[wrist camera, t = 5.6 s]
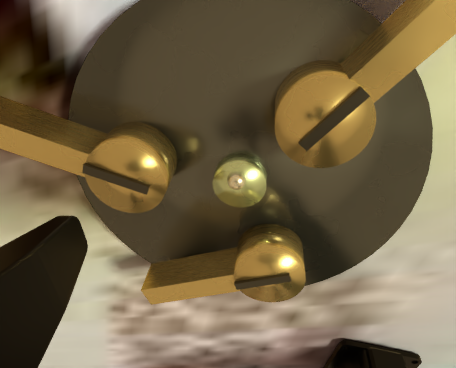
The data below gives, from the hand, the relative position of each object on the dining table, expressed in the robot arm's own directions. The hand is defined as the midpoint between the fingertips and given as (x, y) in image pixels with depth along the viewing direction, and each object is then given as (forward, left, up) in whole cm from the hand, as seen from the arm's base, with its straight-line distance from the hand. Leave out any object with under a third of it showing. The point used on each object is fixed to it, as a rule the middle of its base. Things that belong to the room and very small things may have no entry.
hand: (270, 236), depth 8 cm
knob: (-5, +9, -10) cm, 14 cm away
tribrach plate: (-5, +1, -11) cm, 12 cm away
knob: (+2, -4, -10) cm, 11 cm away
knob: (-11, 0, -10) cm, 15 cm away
